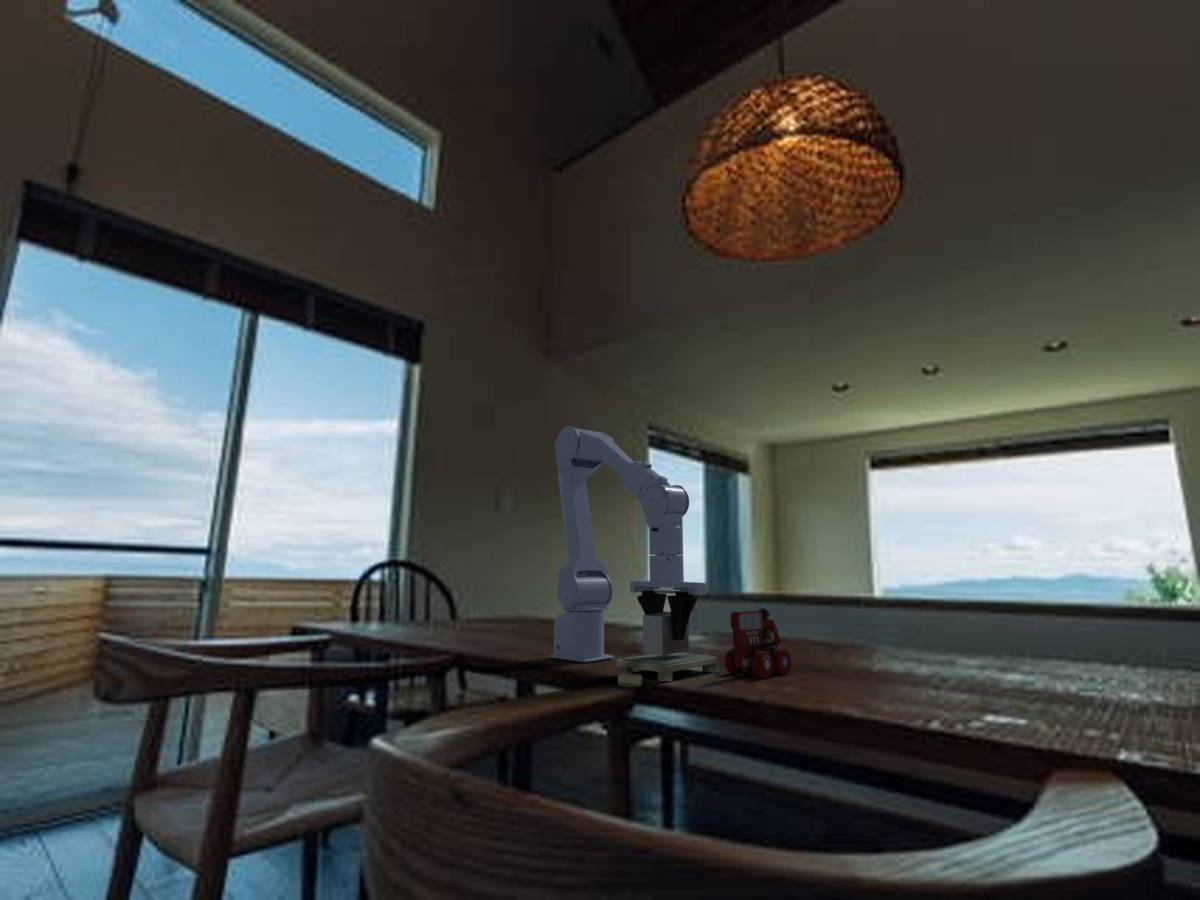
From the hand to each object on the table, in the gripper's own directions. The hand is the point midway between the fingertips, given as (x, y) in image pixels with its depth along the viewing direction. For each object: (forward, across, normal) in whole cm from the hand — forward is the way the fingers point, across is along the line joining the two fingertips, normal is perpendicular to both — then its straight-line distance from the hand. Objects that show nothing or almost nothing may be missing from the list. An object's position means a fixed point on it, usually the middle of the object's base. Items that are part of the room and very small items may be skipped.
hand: (667, 638), depth 107 cm
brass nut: (+6, +2, -12) cm, 13 cm away
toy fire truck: (+6, +11, +10) cm, 16 cm away
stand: (+6, 0, 0) cm, 6 cm away
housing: (+2, 0, 0) cm, 2 cm away
